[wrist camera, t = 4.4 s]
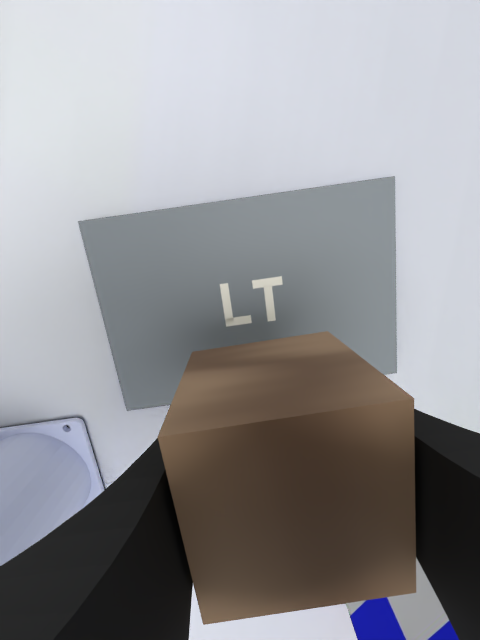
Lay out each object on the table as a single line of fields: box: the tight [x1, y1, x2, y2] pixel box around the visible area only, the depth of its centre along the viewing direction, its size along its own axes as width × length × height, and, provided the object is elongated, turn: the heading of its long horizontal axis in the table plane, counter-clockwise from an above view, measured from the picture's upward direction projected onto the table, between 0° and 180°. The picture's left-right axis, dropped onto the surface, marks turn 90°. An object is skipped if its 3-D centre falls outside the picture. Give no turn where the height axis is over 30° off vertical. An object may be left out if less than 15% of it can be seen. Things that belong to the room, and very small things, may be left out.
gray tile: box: [78, 176, 397, 411], centre depth 17 cm, size 18×12×1 cm, turn 98°
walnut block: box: [158, 331, 416, 625], centre depth 8 cm, size 5×5×5 cm
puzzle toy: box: [346, 558, 459, 640], centre depth 18 cm, size 10×10×10 cm
